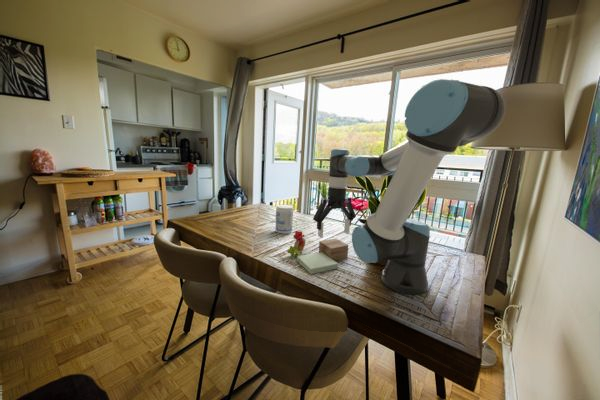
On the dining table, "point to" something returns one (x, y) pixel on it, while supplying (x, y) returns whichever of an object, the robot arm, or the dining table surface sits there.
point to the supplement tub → (284, 219)
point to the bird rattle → (297, 244)
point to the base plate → (317, 262)
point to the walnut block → (334, 249)
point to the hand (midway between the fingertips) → (333, 234)
